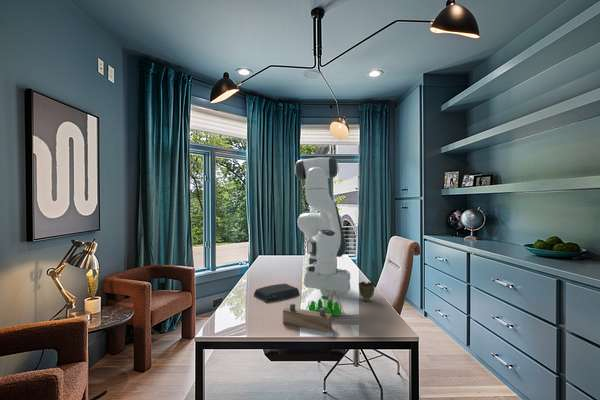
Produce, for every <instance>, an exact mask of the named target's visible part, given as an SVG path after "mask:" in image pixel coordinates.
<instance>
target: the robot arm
mask: <svg viewBox="0 0 600 400" xmlns="http://www.w3.org/2000/svg"><path fill="white" fill-rule="evenodd" d="M339 169H340V165H339V163H338V161H337V159H336V158H335V157H332V156H331V157H330V156H328V157H321V156H320V157H310V158H305V159H304V158H301V159H298V160H297V161H296V162H295V166H294V174H295V176H296V178H297V179H298V180H300V181H302V182H305V186H304V188H305V191H304V192H305V194H304V195H305V201H306V203H307V204H308V206H309V207H310V208H312V209H313V210H315V211H318V212H304V213H300V215H299V216H298V218H297V227H298V229H299V230H300V231H301V232H302V233H303V234H304V235H305V237H306V238H307V242H306V245H307V246H306V248H307V249H306V250H307V253H308V254H309V257H308V265H307V266H306V268H305V270H306V272H305V274H304V278H303V285H304V287H305V288H309V289H315V290H316V289H317V290H319V292H320V294H321V297H322V296H326V297H327V299H325V301H329V300H331V296H332V294H333V293H334V292H338V293H345V294H346V293H348V292H349V291H350V290H351V281H350V280H351V273H350V271H348V269H341V268H340V269H339V268H338V258H342V256H344V255H345V253H346V252H347V250H348V244H347V243H348V242H347V240H346V237H345V235H344V231H343V227H344V219H343V217H342V216H341V215H340V212H339V209H338V208H339V207H338V205H337V203H336V202H335V201H334V200H333V199H332V198H331V197H332V196H331V194H330V190H329V188H330V187H329V181H328V179H329V180H331V179H333V178H336V177H337V175H338V172H339ZM325 291H327V292H328V294H326V292H325ZM322 301H324V299H322Z"/></svg>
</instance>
